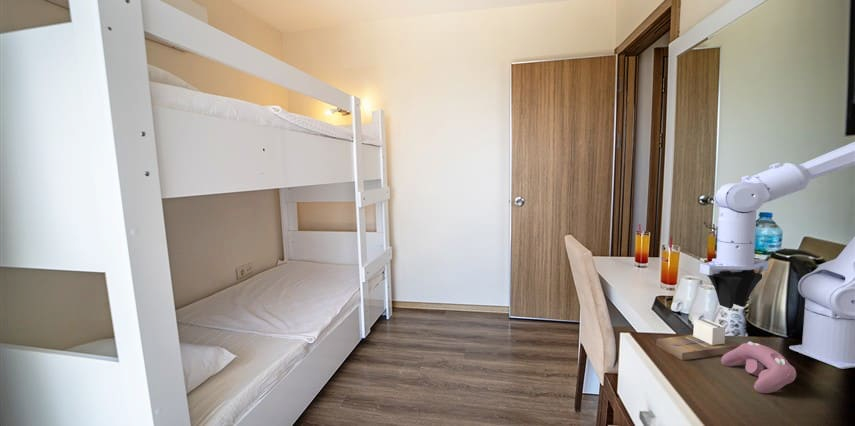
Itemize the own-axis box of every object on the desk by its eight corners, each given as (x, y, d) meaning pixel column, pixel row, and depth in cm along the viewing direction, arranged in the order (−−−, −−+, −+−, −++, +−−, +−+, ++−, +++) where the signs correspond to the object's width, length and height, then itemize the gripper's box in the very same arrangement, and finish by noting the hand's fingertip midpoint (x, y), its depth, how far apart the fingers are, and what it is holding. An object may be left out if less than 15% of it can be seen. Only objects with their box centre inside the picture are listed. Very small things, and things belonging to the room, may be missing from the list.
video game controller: (784, 406, 54) (810, 370, 53) (754, 391, 55) (780, 356, 54) (740, 372, 64) (762, 341, 63) (716, 360, 65) (737, 329, 64)
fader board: (708, 339, 74) (708, 332, 74) (737, 352, 68) (738, 345, 68) (656, 345, 72) (656, 338, 72) (682, 360, 66) (682, 352, 66)
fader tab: (705, 334, 73) (705, 318, 72) (724, 343, 69) (725, 325, 68) (693, 336, 72) (694, 319, 72) (712, 345, 68) (712, 327, 68)
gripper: (743, 236, 75) (740, 296, 76) (687, 240, 72) (684, 302, 73) (782, 241, 68) (777, 308, 69) (721, 246, 65) (717, 314, 67)
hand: (732, 306), depth 71 cm, fingers open, 3 cm apart
